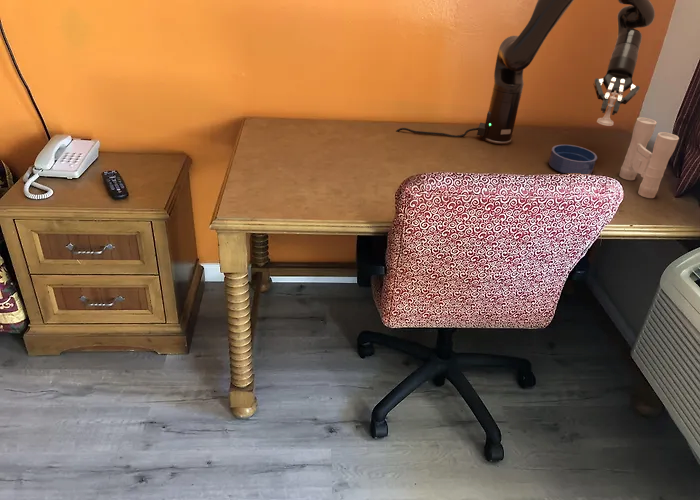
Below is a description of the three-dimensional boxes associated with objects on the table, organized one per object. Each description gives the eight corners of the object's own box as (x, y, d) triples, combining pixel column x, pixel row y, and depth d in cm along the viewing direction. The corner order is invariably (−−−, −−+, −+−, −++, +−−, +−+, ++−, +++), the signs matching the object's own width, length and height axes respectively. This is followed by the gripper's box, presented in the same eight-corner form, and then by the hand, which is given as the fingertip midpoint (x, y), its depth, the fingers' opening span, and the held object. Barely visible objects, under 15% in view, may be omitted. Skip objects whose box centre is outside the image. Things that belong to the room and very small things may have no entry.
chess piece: (614, 126, 182) (625, 94, 177) (597, 124, 183) (608, 92, 177) (611, 121, 186) (622, 89, 181) (595, 119, 187) (605, 87, 182)
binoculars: (614, 172, 187) (633, 116, 177) (631, 173, 187) (650, 117, 178) (642, 198, 172) (664, 139, 163) (660, 199, 173) (683, 140, 163)
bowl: (547, 172, 183) (551, 156, 181) (548, 156, 194) (552, 141, 192) (593, 180, 180) (598, 165, 178) (591, 164, 191) (596, 149, 189)
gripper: (601, 51, 182) (586, 102, 179) (650, 59, 179) (636, 111, 175) (597, 65, 189) (582, 114, 186) (643, 73, 186) (630, 123, 182)
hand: (608, 112), depth 181 cm, fingers closed on chess piece
